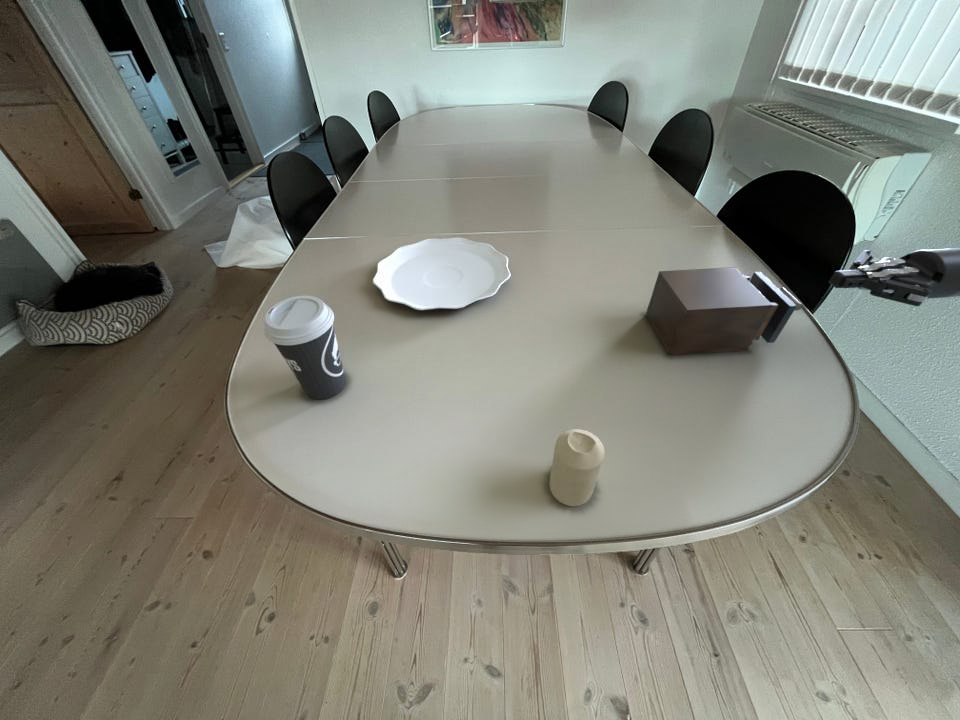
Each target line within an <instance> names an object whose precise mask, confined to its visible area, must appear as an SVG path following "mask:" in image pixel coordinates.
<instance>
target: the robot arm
mask: <svg viewBox="0 0 960 720" xmlns="http://www.w3.org/2000/svg"><path fill="white" fill-rule="evenodd" d="M873 254H874V252H873V251H872V250H869V249H864V250H863V251H862V252H861V253H860V254H859V256H857V258H856V259H855V260H854V261H853V262H852V264H851V265H850V267H849V268H848V269H842V270H836V271H834V273H833V274H832V275H831V277H830V279H829V280H828V283H829V284H830V285H831V286H833V287H834V288H835V289H859V290H861V291H870V292H869V294H870V296H873V297H877V298H880V299H885V300H889V301H892V302H893V301H894V302H897V303H902V304H905V305H908V306H909V305H910V306H914V307H920V306H921V305H922V304H923V303H924V302H925V301H926V300H927V299H928V300H929V299H942V298H945V299H946V298H958V297H960V247H951V248H950V247H949V248H934V249H933V248H932V249H919V250H918V249H917V250H914V251H912V252H909V253H907V254H905V255H903V256H901V257H889V256H886V257H883V258H878V257H876V256H874V255H873Z"/></svg>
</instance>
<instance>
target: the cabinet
mask: <svg viewBox="0 0 960 720" xmlns="http://www.w3.org/2000/svg"><path fill="white" fill-rule="evenodd" d="M744 276H745V275H744V274H742V273H741V271H739V270H738V268H737V267H735V266H729V267H728V266H727V267H713V268H712V267H711V268H693V269H675V270H660V271H658V274H657V277H656V279H655V280H656V281H655V284H654V287H653V289H652V292H651V297H650V300H649V302H648V305H647V310H646V311H645V312H646V313H645V316H646V318H647V320H648V321H649V323H650V325H651V326H652V328H653V330H654V331H655V333H656V335H657V337H658V339H659V340H660V342H661V344H662V345H663V347H664V348H665V350H666V352H667V354H668V355H669V356H681V355H696V354H714V353H729V352H731V353H732V352H747V351H748V350H749V348H750V346H751V344H752V343H753V341H754V340H753V339H754V338H755V336H756V334H757V332H758V331H759V329H760V327H761V325H762V324H763V322H764V320H765V318H766V316H767V315H768V313H769V311H770V309H771V308H772V306H773V305H772V304H771V303H770V302H769V301H768V300H767V299H766V298H765V297H764V296H763V295H762V294H761V293H760V292H759V291H758V290H757V289H756V288H755V287H754V286H753V285H752V284H751V283H750V281H748V280H747V279H746V278H745V277H744Z"/></svg>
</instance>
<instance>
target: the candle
mask: <svg viewBox="0 0 960 720" xmlns="http://www.w3.org/2000/svg"><path fill="white" fill-rule="evenodd" d="M554 445H555V446H554V451H553V452H554V453H553V457H552V463H551V468H550V469H551V470H550V475H549V489H550V492H551V494H552V496H553V497H554V498H555V499H556V500H557V501H558V502H559V503H561V504H563V505H564V506H568V507H579V506H583V505H584V504H586V503H587V502H588V501H589V500H590V498H591V497H592V495H593V492H594V490H595V486H596V483H597V480H598V477H599V474H600V471H601V468H602V464H603V461H604V458H605V446H604V444H603V443H602V441H601V440H600V439H599V438H598V437H597V436H596V435H595V434H594V433H592V432H591V431H587V430H585V429H580V428H574V429H568V430H565V431H564V432H562V433H561V434H560V435H559V436H558V437H557V439H556V442H555V444H554Z"/></svg>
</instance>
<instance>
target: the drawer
mask: <svg viewBox="0 0 960 720" xmlns="http://www.w3.org/2000/svg"><path fill="white" fill-rule="evenodd" d="M743 276H744V277H745V278H746V279H747V280H748V281H749V282H750V283H751V284H752V285H753V286H754V287H755V288H756V289H757V290H758V291H759V292H760V293H761V294H762V295H763V296H764V297H765V298H766V299H767V300H768V301H769V302H770V303H771V304H772V305H773V306H772V308H771V309H770V311H769V313H768V315H767V316H766V318H765V320H764V322H763V324H762V325H761V327H760V329H759V331H758V332H757V334H756V336H755V338H754V339H753V341H759V340H760V338H762V339H763V340H764V341H765V342H766V343H767V344H774V343H776V341H777V339H778V337H779V336H780V334H781V333H782V331H783V329H784V328H785V326H786V325H787V323H788V321H789V320H790V319H791V316H792V315H793V313H794V312H795V311H796V312H797V311H800V310H801V309H802V308H804V305H803V303H802V302H801V301H800V300H798V299H797V298H796V297H795V295H794V294H792V293H791V292H790V291H789V290H787V288H785V287H781V288H779V287H777V285H776V284H775V283H774V282H772V281H771V280H770V279H769V278H768V277H767V276H766V275H765V274H763V272H761V271H754V272H753V274H752V275H751V277H750V276H749V275H743Z"/></svg>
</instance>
